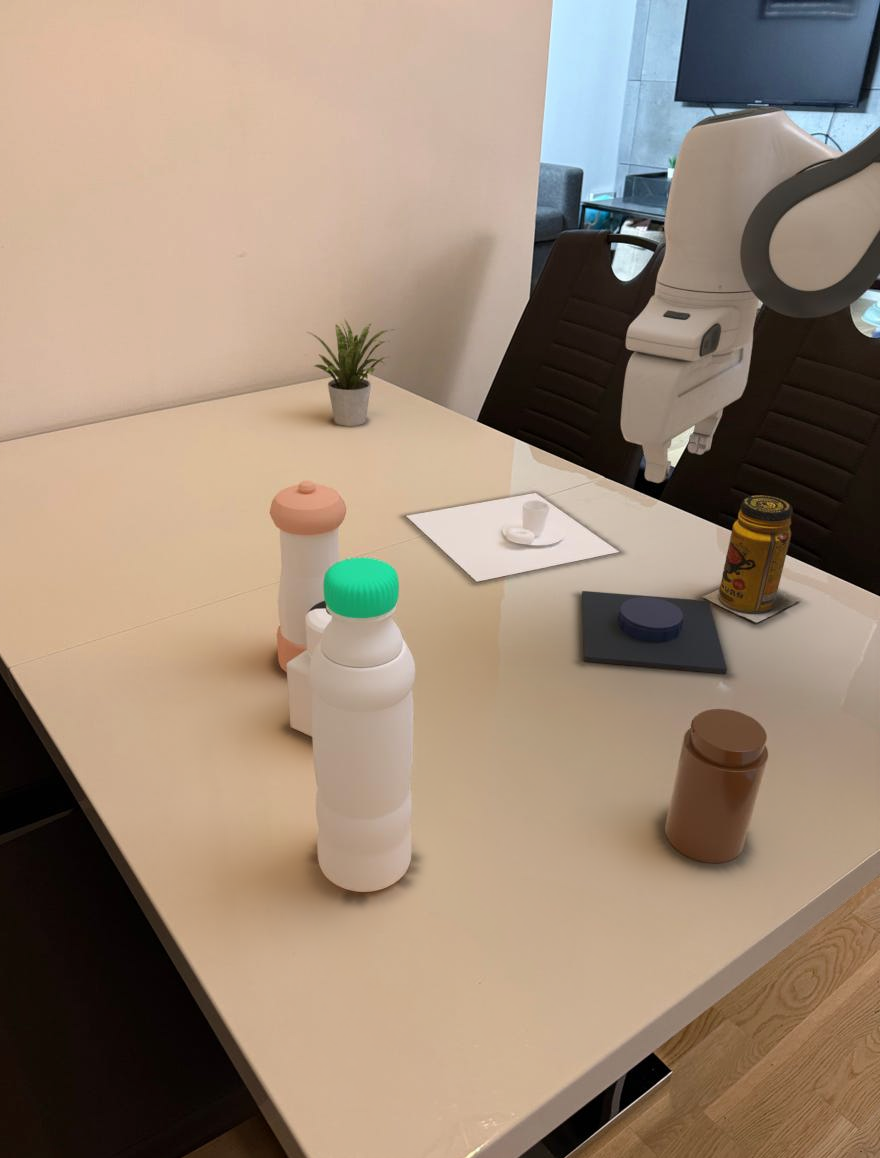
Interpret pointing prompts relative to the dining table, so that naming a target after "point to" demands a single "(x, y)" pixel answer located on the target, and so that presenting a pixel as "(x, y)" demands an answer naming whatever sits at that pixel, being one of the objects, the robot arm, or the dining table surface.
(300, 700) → the medicine bottle
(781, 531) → the condiment
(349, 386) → the house plant
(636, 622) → the lid
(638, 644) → the mat
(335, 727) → the water bottle
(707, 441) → the robot arm
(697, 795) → the jar
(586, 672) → the dining table surface
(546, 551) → the teacup and saucer
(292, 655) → the pepper shaker
